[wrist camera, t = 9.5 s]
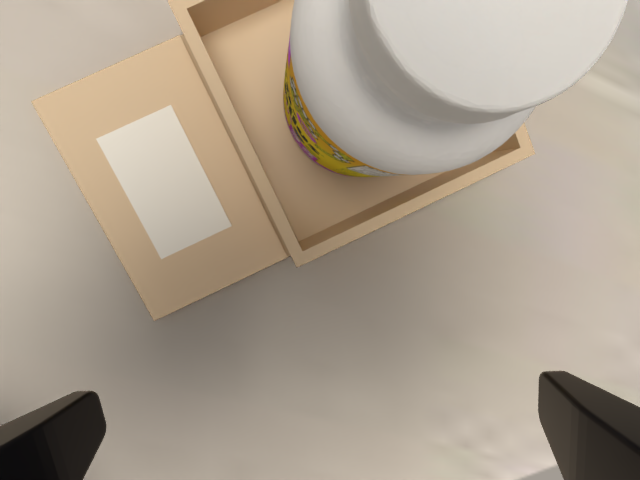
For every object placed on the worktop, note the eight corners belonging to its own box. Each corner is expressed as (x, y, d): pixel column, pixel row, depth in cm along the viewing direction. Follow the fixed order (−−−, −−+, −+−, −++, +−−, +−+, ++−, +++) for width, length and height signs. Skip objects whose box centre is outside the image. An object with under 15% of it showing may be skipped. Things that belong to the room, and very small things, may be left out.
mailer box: (155, 319, 20) (131, 346, 17) (34, 102, 18) (-21, 83, 15) (492, 158, 21) (535, 153, 17) (407, -65, 19) (436, -119, 16)
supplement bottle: (279, 28, 19) (291, -307, 6) (424, 30, 19) (712, -265, 7) (284, 180, 19) (305, 174, 7) (423, 177, 20) (674, 165, 8)
